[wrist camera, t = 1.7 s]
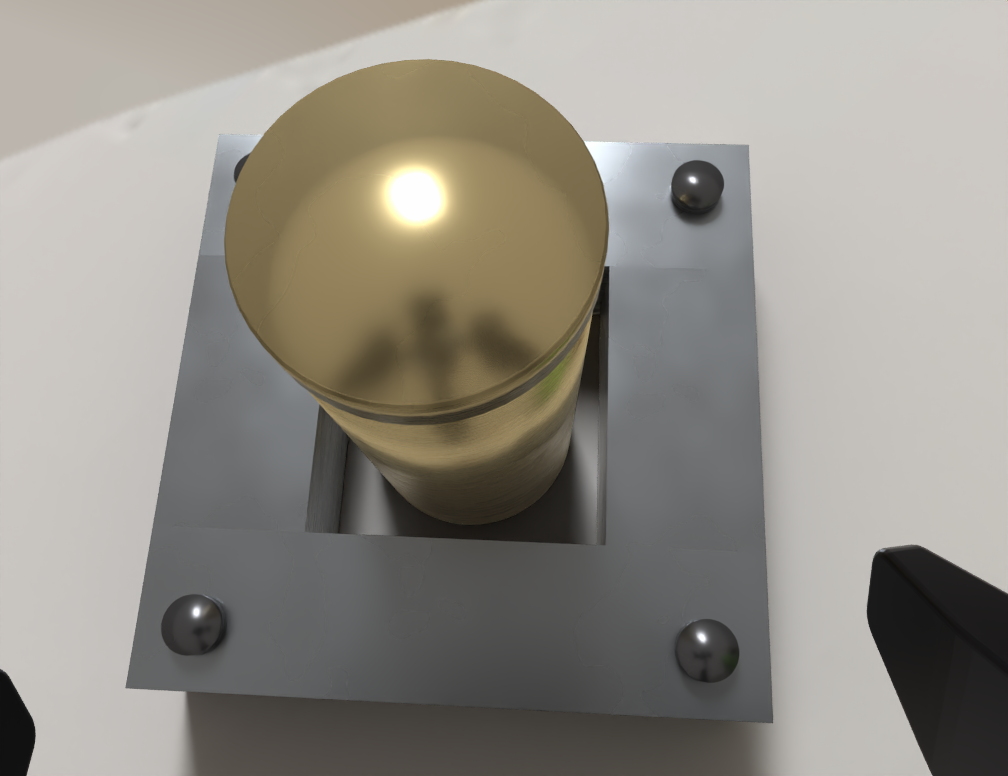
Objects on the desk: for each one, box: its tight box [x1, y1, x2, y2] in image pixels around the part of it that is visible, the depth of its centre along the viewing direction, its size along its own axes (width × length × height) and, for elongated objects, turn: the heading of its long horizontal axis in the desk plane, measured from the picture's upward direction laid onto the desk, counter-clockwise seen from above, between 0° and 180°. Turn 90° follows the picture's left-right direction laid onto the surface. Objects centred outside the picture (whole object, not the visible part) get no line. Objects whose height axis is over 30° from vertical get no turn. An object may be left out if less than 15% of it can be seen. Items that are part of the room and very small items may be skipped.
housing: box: [126, 134, 773, 723], centre depth 20 cm, size 13×13×3 cm
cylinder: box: [224, 59, 609, 525], centre depth 16 cm, size 5×5×11 cm
